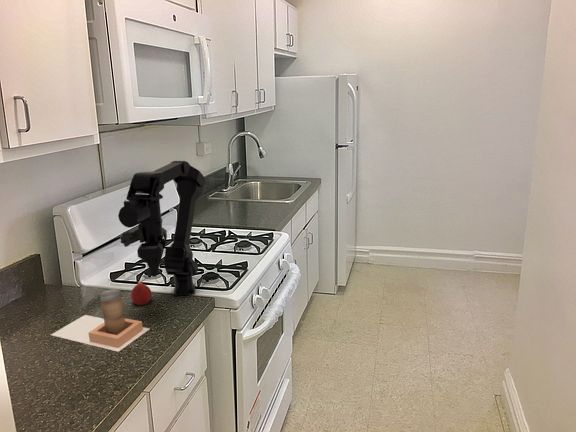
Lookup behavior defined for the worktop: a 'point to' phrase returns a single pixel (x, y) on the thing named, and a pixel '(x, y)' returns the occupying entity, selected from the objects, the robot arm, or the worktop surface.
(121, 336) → the socket
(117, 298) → the gray-capped wooden tube
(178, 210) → the robot arm
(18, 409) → the worktop surface
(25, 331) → the worktop surface
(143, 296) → the red oval fruit
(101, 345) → the mount board
